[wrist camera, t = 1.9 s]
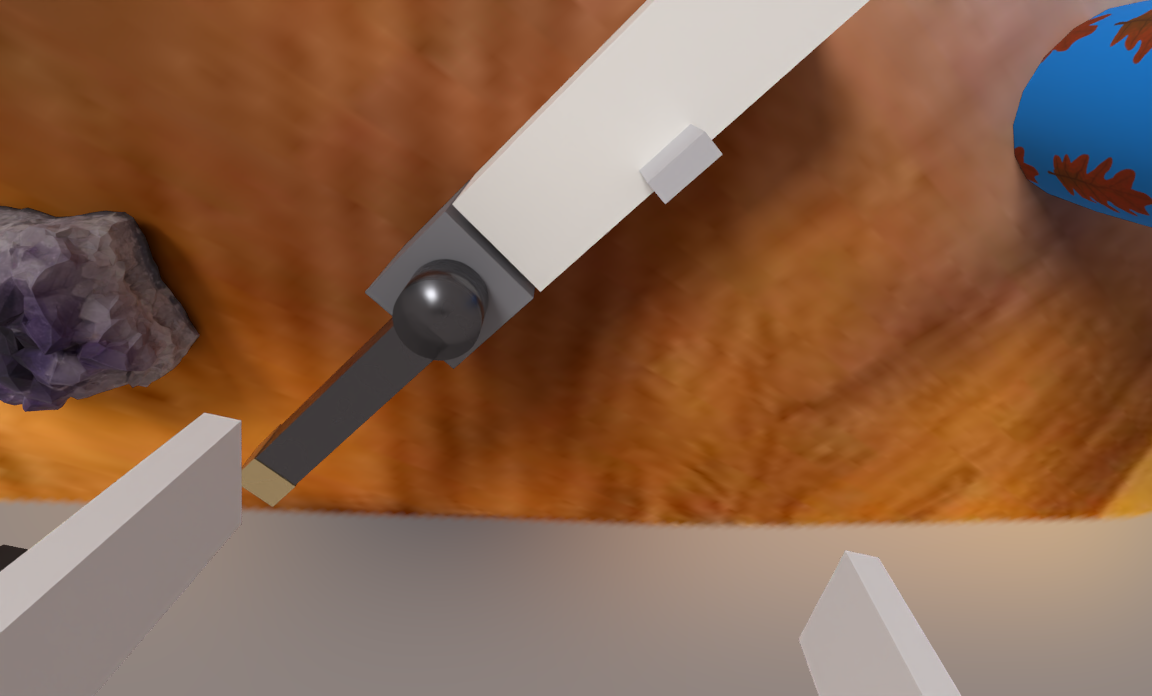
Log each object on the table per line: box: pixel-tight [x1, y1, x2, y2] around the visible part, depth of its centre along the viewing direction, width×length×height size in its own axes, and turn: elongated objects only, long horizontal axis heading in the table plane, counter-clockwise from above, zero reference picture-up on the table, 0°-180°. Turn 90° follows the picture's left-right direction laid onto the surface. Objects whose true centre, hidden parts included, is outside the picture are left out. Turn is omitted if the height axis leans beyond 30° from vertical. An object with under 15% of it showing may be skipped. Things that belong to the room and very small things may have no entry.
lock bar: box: [241, 259, 488, 507], centre depth 30 cm, size 4×16×3 cm, turn 132°
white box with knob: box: [365, 0, 869, 369], centre depth 29 cm, size 6×26×11 cm, turn 132°
